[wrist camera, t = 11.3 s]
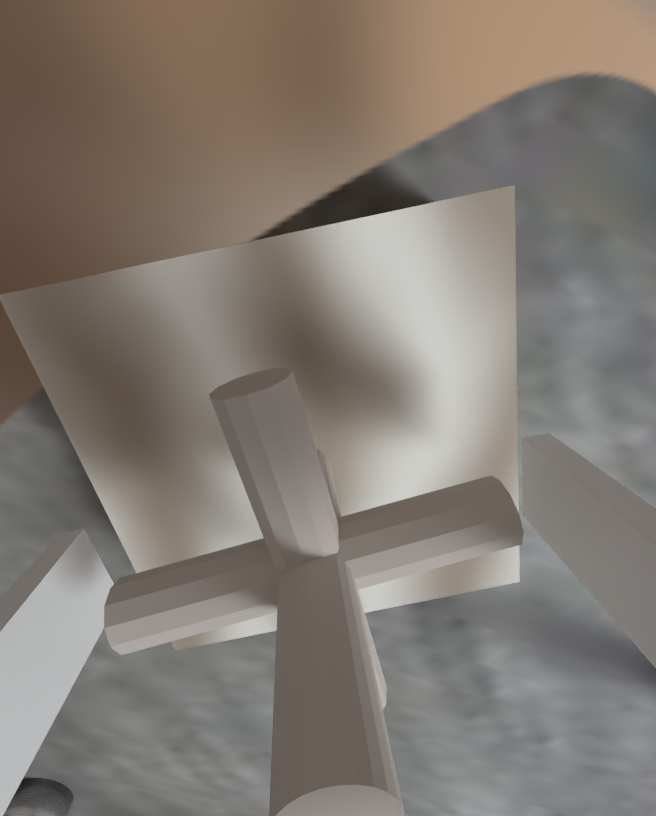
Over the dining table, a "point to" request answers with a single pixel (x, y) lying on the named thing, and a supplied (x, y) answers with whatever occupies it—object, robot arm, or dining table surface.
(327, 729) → the pipe connector
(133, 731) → the dining table surface
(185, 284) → the stand
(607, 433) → the dining table surface
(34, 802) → the round metal puck
